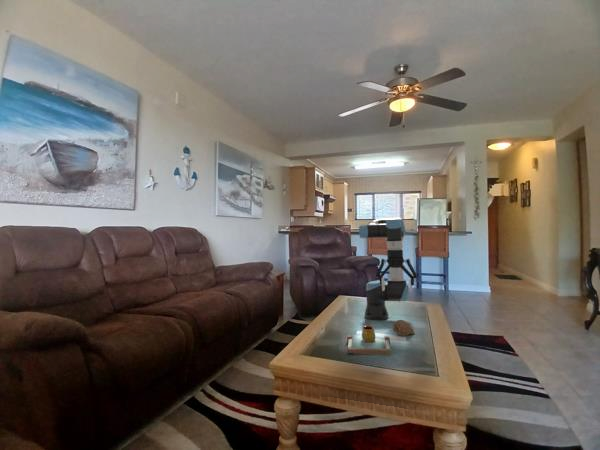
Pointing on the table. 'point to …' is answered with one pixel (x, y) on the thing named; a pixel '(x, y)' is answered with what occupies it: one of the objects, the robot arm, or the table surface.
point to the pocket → (369, 350)
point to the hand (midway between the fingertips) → (396, 291)
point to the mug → (368, 334)
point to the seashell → (402, 328)
